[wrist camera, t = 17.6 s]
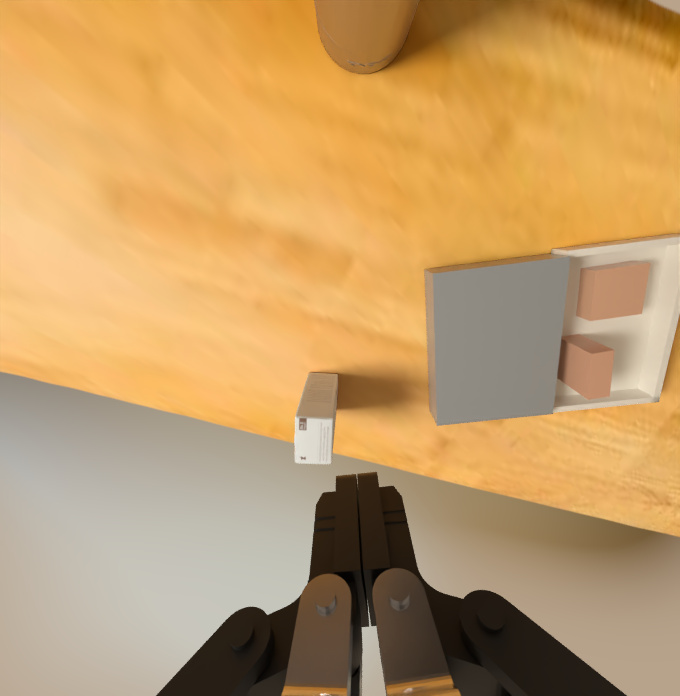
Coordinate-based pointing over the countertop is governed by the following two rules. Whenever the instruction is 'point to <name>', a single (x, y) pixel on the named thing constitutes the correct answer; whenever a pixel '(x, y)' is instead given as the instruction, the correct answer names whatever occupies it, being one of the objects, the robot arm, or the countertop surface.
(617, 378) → the tray
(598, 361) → the tile
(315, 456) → the skincare box
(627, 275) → the tile
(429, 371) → the board
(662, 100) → the countertop surface
